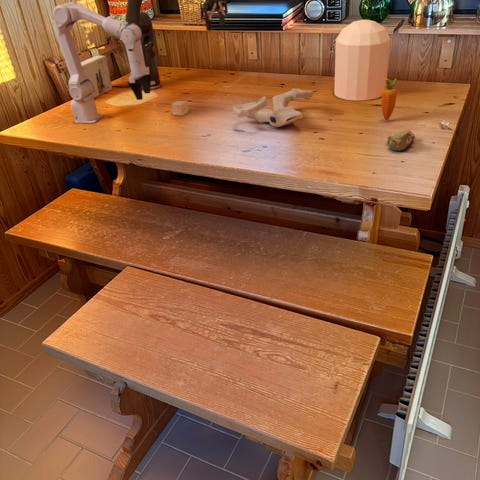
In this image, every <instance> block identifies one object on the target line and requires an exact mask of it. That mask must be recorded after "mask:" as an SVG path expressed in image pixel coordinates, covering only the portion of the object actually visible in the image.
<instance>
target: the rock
mask: <svg viewBox="0 0 480 480" xmlns="http://www.w3.org/2000/svg"><path fill="white" fill-rule="evenodd" d="M415 139H416V135H415V134H414V132H412V131H411V130H408V129H407V130H404V131H398V132H396V133H394V134H393V135H392V134H391V135H389V136H388V137H387V143H388V145H387V146H388V147H389V149H391V150H392V151H395V152H404V151H406V150H407V148H409V145H410V144H411V143H412V142H413V141H414V140H415Z"/></svg>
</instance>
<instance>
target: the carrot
mask: <svg viewBox="0 0 480 480" xmlns="http://www.w3.org/2000/svg"><path fill="white" fill-rule="evenodd" d="M397 81H398V78H395V79H394V80H393V82H391V79H390V78H387V79H386V89H384V90H383V91H382V96H381V97H380V98H381V100H380V101H381V102H380V104H381V112H382V113H381V114H382V117H383V119H384V120H385V121H386V122H388V121H389V119H390V118H391V117H392V114H393V112H394V109H395V106H396V101H397V96H398V95H397V94H398V91H397V89H395V88H394V86H395V85H396V83H397Z"/></svg>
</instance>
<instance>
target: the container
mask: <svg viewBox="0 0 480 480" xmlns="http://www.w3.org/2000/svg"><path fill="white" fill-rule="evenodd" d="M335 38H336V39H335V47H334V49H335V52H334V53H335V55H334V87H333V89H334V94H333V95H334V96H335V97H337V98H339V99H342V100H345V101H357V102H358V101H370V100H375V99H378V98H382V91H383V90H384V89H386V88H387V87H386V85H387V83H386V79H388V71H389V70H388V69H389V68H388V67H389V58H390V48H391V37H390V35H389V33H388V31H387V29H386V28H385V26H384V25H382V24H380V23H379V22H377V21H375V20H371V19H359V20H354V21H352V22H351V23H349V24H348V25H347V26H345V27H344V28H342V29H341V31H340V32H339V34H338V35H337V37H335Z"/></svg>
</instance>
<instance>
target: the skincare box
mask: <svg viewBox="0 0 480 480" xmlns="http://www.w3.org/2000/svg"><path fill="white" fill-rule="evenodd" d="M80 62H81V65H82V68H83V71H84V73H85V74H87V75H88V76H89V78H90V80H91V81H92V83H93V84H94V86H95V91H94V93H93V94H94V96H93V97H94V99H95V98H97V97H100V96H101V95H103V94H105V93H107V92H108V91H110V90H112V89H113V87H112V86H113V84H112V81H111V76H110V72H109V71H110V70H109V66H108V62H107V57H106V55H100V54H99V55H95V56H92V57H90V58H87V59H85V60H83V61H80Z"/></svg>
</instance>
